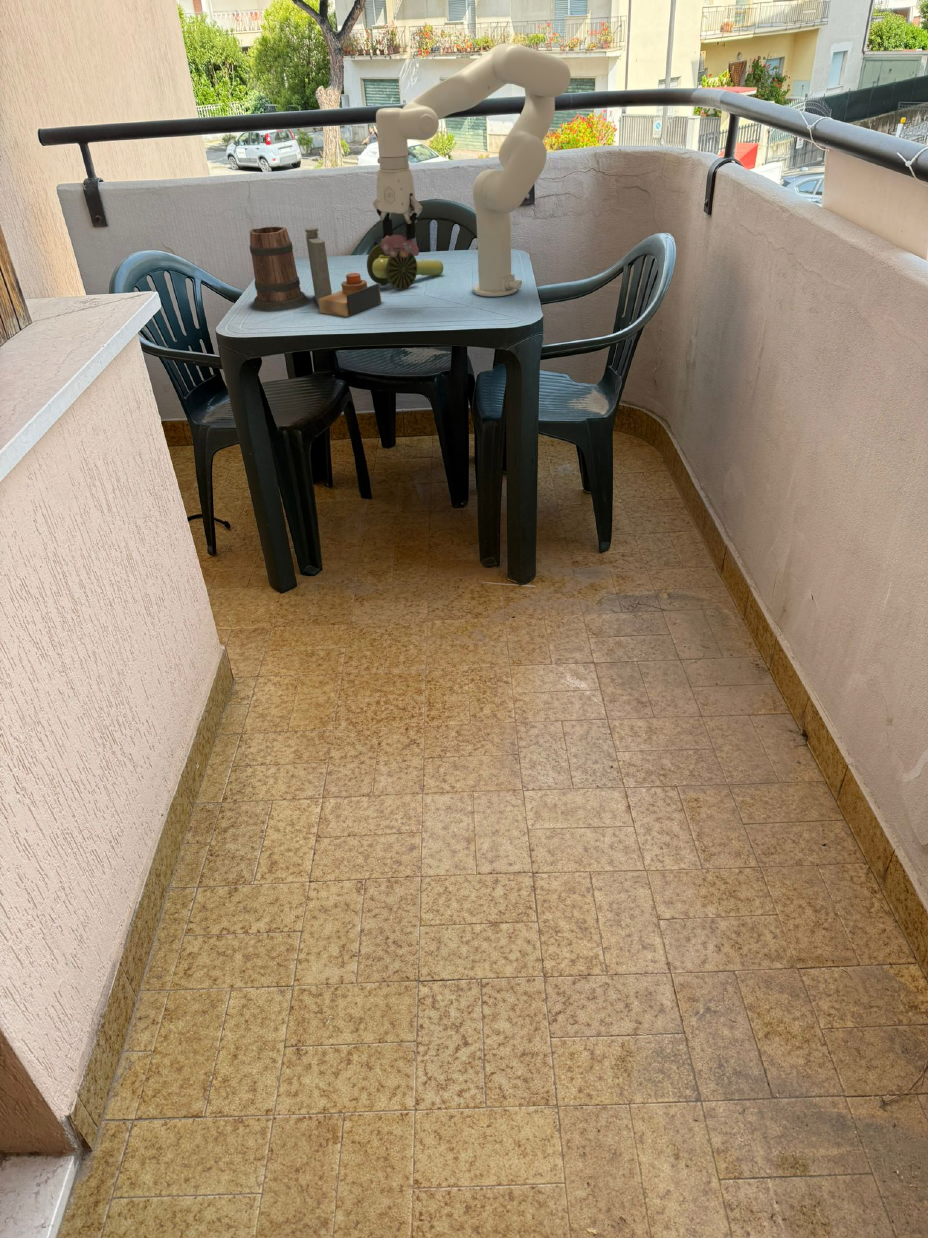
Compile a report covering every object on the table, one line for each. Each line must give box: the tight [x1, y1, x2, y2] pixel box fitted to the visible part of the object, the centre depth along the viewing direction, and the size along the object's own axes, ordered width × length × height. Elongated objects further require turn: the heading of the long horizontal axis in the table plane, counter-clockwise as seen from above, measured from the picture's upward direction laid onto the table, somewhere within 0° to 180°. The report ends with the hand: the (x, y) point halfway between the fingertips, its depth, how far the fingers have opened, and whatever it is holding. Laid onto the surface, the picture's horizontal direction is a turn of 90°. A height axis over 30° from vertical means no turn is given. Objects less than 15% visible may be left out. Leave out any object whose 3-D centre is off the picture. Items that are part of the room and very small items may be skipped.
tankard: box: [249, 225, 310, 312], centre depth 243 cm, size 24×17×20 cm
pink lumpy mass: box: [379, 234, 420, 258], centre depth 228 cm, size 10×5×7 cm, turn 72°
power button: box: [345, 272, 362, 285], centre depth 237 cm, size 4×4×2 cm
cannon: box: [366, 243, 444, 291], centre depth 254 cm, size 25×12×11 cm, turn 129°
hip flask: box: [304, 226, 333, 306], centre depth 239 cm, size 16×4×20 cm, turn 17°
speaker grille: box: [346, 283, 382, 316], centre depth 234 cm, size 1×13×5 cm, turn 144°
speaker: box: [318, 279, 382, 318], centre depth 236 cm, size 10×15×6 cm, turn 144°
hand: (399, 236), depth 227 cm, fingers closed on pink lumpy mass, 7 cm apart
